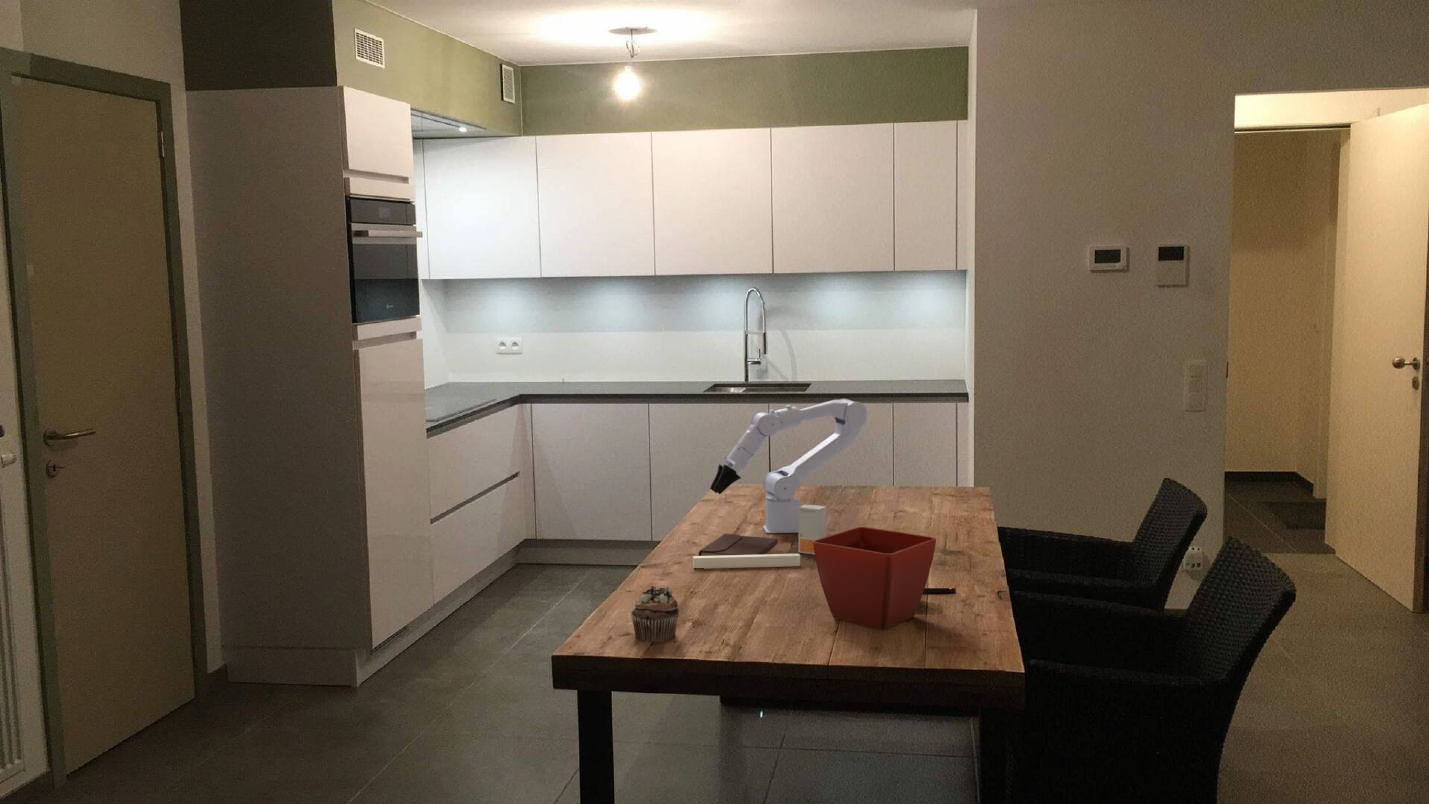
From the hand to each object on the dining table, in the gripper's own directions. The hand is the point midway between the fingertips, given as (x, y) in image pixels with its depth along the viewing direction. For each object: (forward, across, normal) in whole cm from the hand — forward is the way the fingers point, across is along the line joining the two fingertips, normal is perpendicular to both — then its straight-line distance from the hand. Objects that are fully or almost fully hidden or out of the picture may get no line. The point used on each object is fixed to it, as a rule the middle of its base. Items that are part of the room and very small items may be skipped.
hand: (714, 491), depth 335 cm
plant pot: (+4, +77, +33) cm, 84 cm away
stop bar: (+11, +32, +13) cm, 36 cm away
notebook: (+9, +14, +13) cm, 21 cm away
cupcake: (+34, +83, -3) cm, 90 cm away
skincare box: (-1, +21, +27) cm, 34 cm away
